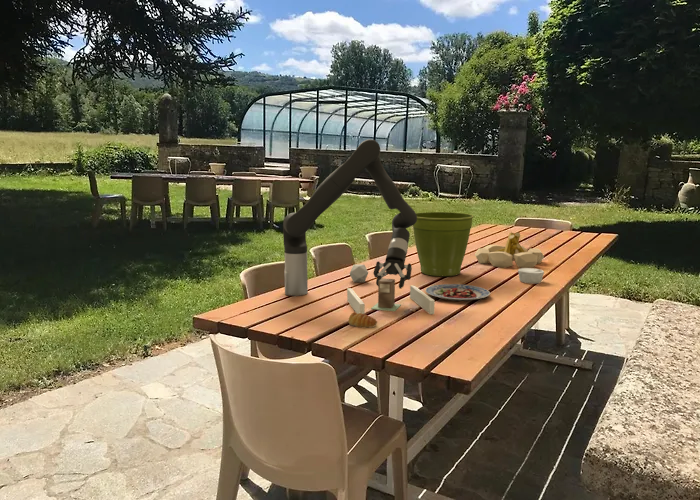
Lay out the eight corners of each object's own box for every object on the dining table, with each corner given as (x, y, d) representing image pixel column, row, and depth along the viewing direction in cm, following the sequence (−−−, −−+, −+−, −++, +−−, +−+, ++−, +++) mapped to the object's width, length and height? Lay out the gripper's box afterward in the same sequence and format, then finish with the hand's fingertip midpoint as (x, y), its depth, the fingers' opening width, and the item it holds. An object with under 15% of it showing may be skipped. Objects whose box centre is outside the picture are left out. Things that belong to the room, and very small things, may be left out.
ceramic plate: (497, 293, 226) (497, 286, 226) (478, 307, 204) (478, 300, 204) (439, 286, 239) (439, 279, 239) (415, 298, 217) (415, 291, 217)
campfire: (533, 271, 271) (534, 237, 269) (467, 264, 289) (468, 233, 286) (548, 260, 301) (550, 230, 298) (488, 255, 318) (489, 226, 316)
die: (361, 286, 241) (373, 267, 243) (345, 276, 242) (356, 257, 244) (361, 288, 249) (372, 270, 251) (345, 278, 250) (356, 261, 252)
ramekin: (545, 284, 242) (545, 273, 241) (518, 283, 244) (519, 272, 243) (541, 279, 252) (542, 268, 252) (516, 278, 255) (517, 267, 254)
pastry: (380, 324, 183) (380, 313, 182) (371, 330, 177) (371, 319, 176) (355, 320, 187) (355, 310, 187) (346, 326, 181) (346, 315, 181)
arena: (360, 318, 190) (360, 304, 189) (347, 300, 213) (347, 288, 212) (434, 314, 195) (434, 300, 194) (413, 297, 218) (414, 285, 217)
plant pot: (417, 265, 285) (418, 211, 280) (474, 269, 275) (477, 213, 270) (403, 277, 257) (404, 216, 252) (467, 281, 247) (469, 218, 243)
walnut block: (377, 307, 202) (378, 281, 200) (381, 304, 207) (382, 278, 205) (390, 308, 200) (391, 282, 199) (394, 305, 205) (394, 279, 204)
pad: (371, 309, 201) (371, 308, 201) (378, 303, 209) (378, 302, 209) (394, 311, 198) (394, 310, 198) (400, 305, 207) (400, 304, 206)
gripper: (378, 245, 214) (369, 279, 205) (413, 247, 210) (405, 282, 201) (381, 256, 220) (373, 290, 211) (416, 258, 215) (409, 293, 207)
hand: (389, 286), depth 206 cm, fingers open, 8 cm apart
